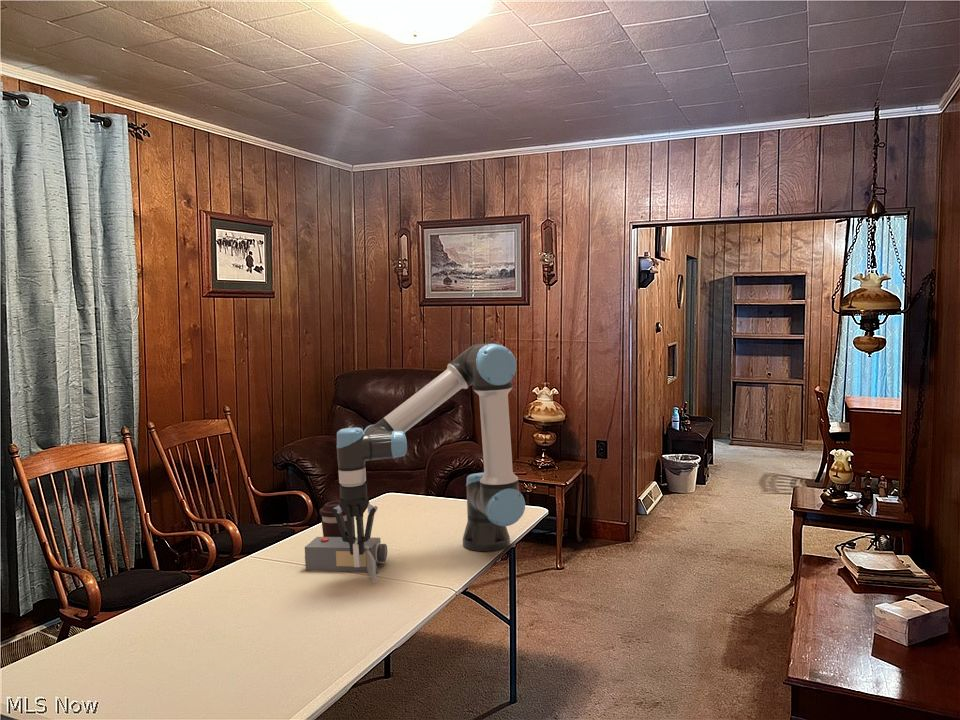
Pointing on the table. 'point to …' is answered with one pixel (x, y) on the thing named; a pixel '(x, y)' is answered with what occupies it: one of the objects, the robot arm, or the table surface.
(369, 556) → the side door
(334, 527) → the coffee cup
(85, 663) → the table surface
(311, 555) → the camera box
